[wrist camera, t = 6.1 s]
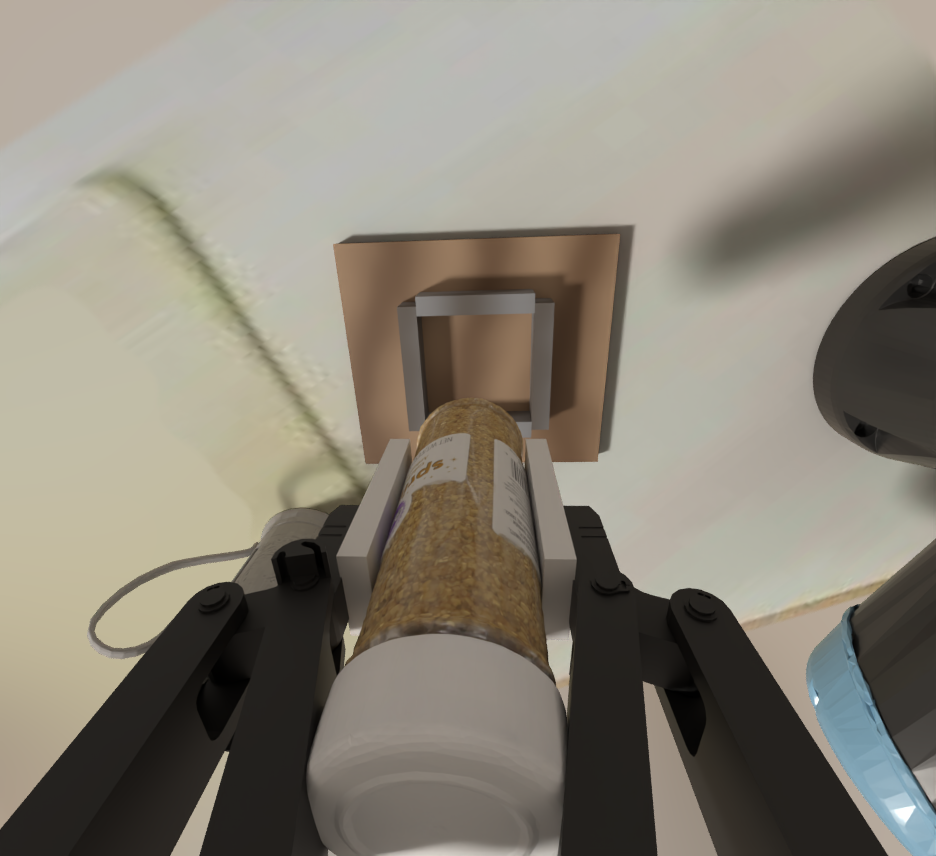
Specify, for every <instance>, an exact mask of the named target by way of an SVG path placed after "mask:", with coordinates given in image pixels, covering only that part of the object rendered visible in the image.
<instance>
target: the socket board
mask: <svg viewBox="0 0 936 856" xmlns="http://www.w3.org/2000/svg"><path fill="white" fill-rule="evenodd" d="M619 242H620V234H593V235H565V236H536V237H508V238H480V239H452V240H423V241H395V242H367V243H339V244H333V247H334V253H335V260H336V267H337V274H338V280H339V287H340V294H341V301H342V307H343V314H344V321H345V327H346V334H347V341H348V348H349V354H350V361H351V368H352V375H353V381H354V388H355V395H356V401H357V408H358V415H359V422H360V428H361V435H362V442H363V449H364V455H365V462H366V464H379V462H380V460H381V458H382V456H383V454H384V451H385V449H386V447H387V445H388V443H389V441H390V439H410V444H411V456H412V462H413V460H414V457H415V453H416V450H417V438H418V435H419V432H420V428H421V426H422V425H423V423H424V422H425V420H426V419H427V418H428V416H429V415H430V414H431V413H432V412H433V411H434V410H436V409H437V408H438V407H440V406H442V405H444V404H445V403H448V402H451V401H454V400H459V399H462V398H481V399H484V400H487V401H489V402H492V403H494V404H495V405H497V406H500V407H501V408H502V409H504V410H505V411H506V412H507V413H508V414H509V415H510V416H511V417H512V418H513V419H514V420H515V422H516V423H517V425H518V428H519V430H520V431H521V434H522V438H523V456H522V462H525V445H526V439H546V440H547V444H548V448H549V452H550V456H551V460H552V462H598V452H599V442H600V432H601V422H602V412H603V402H604V392H605V382H606V372H607V362H608V352H609V342H610V332H611V322H612V312H613V302H614V292H615V282H616V272H617V262H618V252H619Z"/></svg>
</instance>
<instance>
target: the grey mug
mask: <svg viewBox="0 0 936 856" xmlns="http://www.w3.org/2000/svg"><path fill="white" fill-rule="evenodd" d="M328 516H329V515H328V514H326V513H324V512H321V511H318V510H314V509H308V508H295V509H289V510H285V511H282V512H280V513H278V514H276V515H275V516H273V517H272V518H271V519H270V520H269V521H268V522H267V524H266V525H265V527H264V529H263V531H262V536H261V541H260V542H259V543H258V542H256V543H255V544H254V545H253V546H252V547H251V548H249V549H246V550H241V551H235V552H228V553H221V554H213V555H206V556H200V557H194V558H188V559H183V560H178V561H174V562H170V563H168V564H166V565H163V566H160V567H158V568H156V569H153V570H152V571H149V572H147V573H145V574H143V575H141V576H139V577H137V578H136V579H134V580H133V581H131V582H130V583H128V584H127V585H125V586H124V587H122V588H121V589H119V590H118V591H117V592H116V593H115V594H114V595H113V596H111V597H110V598H109V599H108V600H107V601H106V602H105V603H104V604H102V606H101V607H100V608H99V609H98V611H97V612H96V613H95V615H94V616H93V617H92V618H91V621H90V624H89V628H88V633H87V637H88V639H89V642H90V645H91V647H92V648H94V649H95V650H96V651H97V652H98V653H99V654H101V655H104V656H106V657H109V658H116V659H125V658H129V657H136V656H138V655H141V654H143V653H146V652H147V650H148V649H149V648H150V647H151V646H152V644H153V643H154V642H155V641H156V639H157V638H158V637H159V636H160V635H161V633H162V632H163V631H164V630H165V629H166V628H165V629H164V630H163V631H162V632H161V633H159V634H158V635H157V636H156V637H154V638H153V639H151V640H150V641H148V642H146V643H143V644H141V645H138V646H136V647H130V648H124V649H122V648H112V647H110V646H108V645H105V644H104V643H103V642H101V641H100V640H99V639H98V638H97V637H96V634H95V632H94V630H95V627H96V624H97V622H98V621H99V620H100V618H101V617H102V616H103V615H104V613H105V612H106V611H107V610H108V609H109V608H111V606H113V605H114V604H115V603H116V602H117V601H118V600H120V599H121V598H122V597H123V596H124V595H126V594H127V593H129V592H130V591H132V590H134V589H135V588H136V587H138V586H140V585H141V584H143V583H145V582H148V581H150V580H152V579H154V578H156V577H158V576H160V575H163V574H165V573H168V572H171V571H173V570H177V569H181V568H185V567H190V566H195V565H201V564H206V563H214V562H221V561H228V560H234V559H239V558H244V557H248V556H249V558H248V559H247V561H246V562H245V564H244V565H243V566H242V568H241V569H240V570H239V572H238V573H237V575H236V576H235V578H234V579H233V580H232V582H233V583H238V584H239V585H240V586H241V587H242V588H243V590H244V594H248V593H253V592H257V591H262V590H266V589H270V588H273V587H276V586H277V585H278V584H277V580H276V576H275V573H274V569H273V565H272V561H271V558H272V557H273V555H274V553H275V552H276V551H277V550H278V549H280V548H281V547H282V546H284V545H286V544H288V543H290V542H292V541H295V540H300V539H316V537H317V536H318V534H319V532H320V530H321V528H323V525H324V523H325V521H326V519H327V517H328ZM169 624H170V623H169ZM169 624H168V625H169ZM168 625H167V626H168ZM167 626H166V627H167ZM235 731H236V730H235ZM234 734H235V732H234ZM234 734H233V736H232V738H231V740H230V742H229V744H228V745H227V747H226V749H225V751H227V752H229V751H230V748H231V744H232V741H233V738H234Z"/></svg>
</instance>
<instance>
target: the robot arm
mask: <svg viewBox="0 0 936 856" xmlns="http://www.w3.org/2000/svg"><path fill="white" fill-rule="evenodd" d="M813 388H814V395H815V399H816V403H817V405H818V408H819V410H820V412H821V414H822V416H823V417H824V419H825V420H826V421H827V423H828V424H829V425H830V426H831V427H832V428H833V429H834V430H835V431H836V432H838V433H839V434H840V435H842V436H843V437H845V438H847V439H848V440H850V441H852V442H853V443H855V444H857V445H858V446H860V447H862V448H863V449H865V450H867V451H869V452H872V453H874V454H876V455H879V456H882V457H885V458H888V459H893V460H897V461H902V462H907V463H911V464H916V465H921V466H925V467H930V468H935V469H936V238H935V239H932V240H929V241H927V242H925V243H922V244H920V245H918V246H916V247H914V248H912V249H910V250H908V251H906V252H904V253H902V254H901V255H899V256H897V257H896V258H894V259H893V260H891V261H890V262H888V263H887V264H885V265H884V266H882V267H881V268H880V269H879V270H877V271H876V272H875V273H874V274H872V275H871V276H870V277H869V278H868V279H867V280H865V281H864V282H863V283H862V284H861V285H860V286H859V287H858V288H857V289H856V290H855V291H854V292H853V294H852V295H851V296H850V297H849V298H848V299H847V300H846V302H845V303H844V304H843V305H842V307H841V308H840V309H839V311H838V312H837V314H836V315H835V317H834V318H833V320H832V321H831V323H830V325H829V327H828V328H827V330H826V332H825V334H824V336H823V339H822V341H821V344H820V346H819V349H818V352H817V356H816V360H815V365H814V373H813ZM411 464H412V456H411V444H410V439H390V441H389V443H388V445H387V447H386V449H385V451H384V454H383V456H382V458H381V460H380V462H379V464H378V467H377V469H376V471H375V473H374V475H373V477H372V480H371V482H370V484H369V486H368V488H367V490H366V493H365V495H364V497H363V499H362V501H361V503H360V505H340V506H339V507H338V508H337V509H335V510H334V511H333V512H332V513H330V514H329V516H328V517H327V519H326V521H325V523H324V525H323V528H321V530H320V532H319V534H318V536H317V537H316V539H300V540H295V541H292V542H290V543H288V544H286V545H284V546H282V547H281V548H280V549H278V550H277V551H276V552H275V553H274V555H273V557H272V558H271V561H272V565H273V569H274V573H275V576H276V580H277V584H278V585H277V586H276V587H273V588H270V589H266V590H262V591H257V592H253V593H248V594H244V590H243V588H242V587H241V586H240V585H239V584H238V583H233V582H223V583H217V584H214V585H211V586H208V587H206V588H205V589H203V590H201V591H199V592H198V593H196V594H195V595H194V596H193V597H192V598H191V599H190V600H189V601H188V602H187V603H186V604H185V605H184V607H183V608H182V609H181V611H180V612H179V613H178V614H177V615H176V616H175V618H174V619H173V620H172V621H171V622H170V624H169V625H168V626H167V627H166V629H165V630H164V631H163V632H162V633H161V635H160V636H159V637H158V638H157V639H156V641H155V642H154V643H153V644H152V646H151V647H150V648H149V649H148V650H147V652H146V653H145V654H144V655H143V657H142V658H141V659H140V660H139V661H138V663H137V664H136V665H135V666H134V668H133V669H132V670H131V671H130V672H129V674H128V675H127V676H126V677H125V678H124V680H123V681H122V682H121V683H120V685H119V686H118V687H117V688H116V689H115V691H114V692H113V693H112V694H111V695H110V697H109V698H108V699H107V700H106V701H105V703H104V704H103V705H102V706H101V708H100V709H99V710H98V711H97V713H96V714H95V715H94V716H93V717H92V719H91V720H90V721H89V722H88V723H87V725H86V726H85V727H84V728H83V729H82V731H81V732H80V733H79V734H78V736H77V737H76V738H75V739H74V740H73V742H72V743H71V744H70V745H69V746H68V748H67V749H66V750H65V751H64V753H63V754H62V755H61V756H60V757H59V759H58V760H57V761H56V762H55V764H54V765H53V766H52V767H51V768H50V770H49V771H48V772H47V773H46V775H45V776H44V777H43V778H42V779H41V781H40V782H39V783H38V784H37V785H36V787H35V788H34V789H33V790H32V792H31V793H30V794H29V795H28V796H27V798H26V799H25V800H24V801H23V802H22V804H21V805H20V806H19V807H18V808H17V810H16V811H15V812H14V813H13V815H12V816H11V817H10V818H9V819H8V821H7V822H6V823H5V824H4V826H3V827H2V828H1V829H0V856H170V855H171V853H172V851H173V849H174V847H175V845H176V843H177V842H178V840H179V838H180V835H181V834H182V832H183V830H184V828H185V826H186V824H187V822H188V820H189V818H190V816H191V815H192V813H193V811H194V809H195V807H196V805H197V803H198V801H199V799H200V797H201V795H202V794H203V792H204V789H205V788H206V786H207V784H208V782H209V780H210V778H211V776H212V774H213V772H214V770H215V768H216V766H217V765H218V762H219V761H220V759H221V757H222V755H223V753H224V751H225V749H226V747H227V745H228V744H229V742H230V740H231V738H232V736H233V734H234V732H235V734H234V738H233V741H232V744H231V748H230V751H229V755H228V758H227V762H226V765H225V769H224V773H223V776H222V779H221V783H220V786H219V790H218V793H217V796H216V800H215V803H214V807H213V810H212V814H211V818H210V821H209V824H208V828H207V831H206V835H205V838H204V842H203V845H202V849H201V852H200V855H199V856H328V848H327V847H326V846H324V845H323V843H322V841H321V839H320V836H319V833H318V830H317V827H316V824H315V821H314V817H313V814H312V810H311V806H310V802H309V798H308V793H307V784H306V771H307V763H308V759H309V755H310V751H311V747H312V743H313V740H314V736H315V733H316V730H317V726H318V724H319V721H320V718H321V715H322V712H323V710H324V707H325V704H326V701H327V698H328V695H329V693H330V690H331V687H332V685H333V683H334V681H335V679H336V677H337V676H338V674H339V673H340V672H341V670H342V669H343V668H344V659H345V644H344V639H343V634H344V631H345V629H346V626H347V623H349V628H350V633H351V635H359V634H360V631H361V629H362V625H363V621H364V619H365V617H366V612H367V608H368V605H369V601H370V598H371V594H372V592H373V589H374V586H375V583H376V580H377V576H378V573H379V570H380V561H381V557H382V553H383V550H384V547H385V544H386V541H387V538H388V535H389V532H390V529H391V526H392V523H393V519H394V516H395V513H396V509H397V507H398V503H399V500H400V496H401V493H402V489H403V486H404V483H405V480H406V477H407V473H408V471H409V468H410V466H411ZM525 472H526V476H527V482H528V489H529V496H530V503H531V510H532V518H533V526H534V533H535V540H536V547H537V554H538V560H539V567H540V574H541V582H542V594H541V601H542V610H543V614H544V626H545V633H546V639H547V640H569V632H570V630H571V635H572V640H573V644H572V653H571V663H570V672H569V675H570V680H569V695H568V708H567V723H568V746H567V765H566V781H565V794H564V804H563V813H562V822H561V831H560V839H559V847H558V855H557V856H657V844H656V832H655V821H654V809H653V797H652V786H651V774H650V762H649V750H648V739H647V727H646V715H645V704H644V694H643V693H644V692H643V681H644V682H647V683H650V684H653V685H654V686H655V688H656V691H657V694H658V697H659V699H660V702H661V705H662V707H663V710H664V713H665V715H666V718H667V721H668V723H669V726H670V729H671V732H672V734H673V737H674V740H675V742H676V745H677V747H678V750H679V753H680V756H681V758H682V761H683V763H684V766H685V769H686V772H687V774H688V777H689V780H690V782H691V785H692V788H693V791H694V793H695V796H696V798H697V801H698V804H699V806H700V809H701V812H702V815H703V817H704V820H705V822H706V825H707V828H708V831H709V833H710V836H711V839H712V841H713V844H714V847H715V849H716V852H717V855H718V856H888V855H887V853H886V852H885V850H884V848H883V847H882V845H881V844H880V842H879V841H878V839H877V838H876V836H875V835H874V833H873V831H872V830H871V828H870V827H869V825H868V824H867V822H866V820H865V819H864V817H863V816H862V814H861V813H860V811H859V810H858V808H857V806H856V805H855V803H854V802H853V800H852V799H851V797H850V796H849V794H848V792H847V791H846V789H845V788H844V786H843V785H842V783H841V781H840V780H839V778H838V777H837V775H836V774H835V772H834V771H833V769H832V767H831V766H830V764H829V763H828V761H827V760H826V758H825V757H824V755H823V753H822V752H821V750H820V749H819V747H818V746H817V744H816V743H815V741H814V739H813V738H812V736H811V735H810V733H809V732H808V730H807V729H806V727H805V725H804V724H803V722H802V721H801V719H800V718H799V716H798V714H797V713H796V712H795V710H794V708H793V707H792V705H791V704H790V702H789V700H788V699H787V697H786V696H785V694H784V693H783V691H782V690H781V688H780V686H779V685H778V684H777V682H776V680H775V679H774V677H773V676H772V674H771V672H770V671H769V669H768V668H767V666H766V665H765V663H764V662H763V660H762V658H761V657H760V655H759V654H758V652H757V651H756V649H755V648H754V646H753V645H752V643H751V641H750V640H749V638H748V637H747V635H746V633H745V632H744V630H743V629H742V627H741V626H740V624H739V623H738V621H737V619H736V618H735V616H734V615H733V613H732V612H731V610H730V609H729V608H728V607H727V605H726V604H725V603H724V602H723V601H722V600H720V599H719V598H717V597H716V596H714V595H713V594H710V593H708V592H705V591H702V590H699V589H692V588H686V589H680V590H678V591H676V592H675V593H673V594H672V596H671V599H670V600H669V599H665V598H661V597H657V596H653V595H650V594H647V593H644V592H642V591H640V590H638V589H636V588H634V587H633V584H632V582H631V581H630V580H629V579H628V578H627V577H626V576H625V575H624V574H622V573H620V571H619V568H618V565H617V563H616V560H615V557H614V555H613V552H612V549H611V546H610V544H609V541H608V538H607V536H606V533H605V530H604V529H603V525H602V522H601V519H600V517H599V515H598V514H597V513H596V512H595V511H594V510H593V509H592V508H591V507H589V506H563V503H562V499H561V495H560V492H559V488H558V484H557V480H556V476H555V472H554V468H553V464H552V460H551V456H550V452H549V448H548V444H547V440H546V439H526V445H525ZM806 681H807V687H808V691H809V697H810V699H811V702H812V704H813V706H814V708H815V711H816V716H817V720H818V722H819V724H820V726H821V729H822V731H823V733H824V735H825V736H826V738H827V740H828V742H829V744H830V746H831V748H832V750H833V751H834V753H835V755H836V757H837V758H838V760H839V761H840V763H841V765H842V766H843V768H844V769H845V771H846V772H847V774H848V776H849V777H850V779H851V780H852V781H853V783H854V784H855V786H856V787H857V788H858V790H859V791H860V793H861V794H862V795H863V797H864V798H865V799H866V801H867V802H868V803H869V805H870V806H871V807H872V809H873V810H874V811H875V813H876V814H877V815H878V817H879V818H880V819H881V820H882V822H883V823H884V824H885V825H886V826H887V827H888V829H889V830H890V831H891V832H892V833H893V834H894V835H895V837H896V838H897V839H898V840H899V842H900V843H901V844H902V845H903V846H904V847H905V848H906V849H907V850H908V851H909V852H910V853H911V854H912V856H936V539H935V540H934V541H932V542H931V543H930V544H929V545H928V546H927V547H926V548H924V549H923V550H922V551H921V552H920V553H919V554H918V555H916V556H915V557H914V558H913V559H912V560H911V561H909V562H908V563H907V564H906V565H905V566H904V567H903V568H901V569H900V570H899V571H898V572H897V573H896V574H895V575H893V576H892V577H891V578H890V579H889V580H888V581H887V582H885V583H884V584H883V585H882V586H881V587H880V588H879V589H877V590H876V591H875V592H874V593H873V594H872V595H871V596H869V597H868V598H867V599H866V600H865V601H864V602H862V603H861V604H858V605H855V606H853V607H849V608H848V609H847V610H846V611H845V613H844V614H843V617H842V620H841V622H840V623H839V624H838V625H837V626H836V627H835V628H834V629H833V630H832V631H831V632H830V633H829V634H828V635H827V636H826V637H825V638H824V639H823V640H822V641H821V642H820V643H819V644H818V645H817V646H816V647H815V648H814V650H813V652H812V653H811V655H810V657H809V660H808V663H807V669H806ZM235 730H236V731H235Z"/></svg>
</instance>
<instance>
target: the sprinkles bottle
mask: <svg viewBox="0 0 936 856" xmlns="http://www.w3.org/2000/svg"><path fill="white" fill-rule="evenodd" d="M522 456H523V438H522V434H521V431H520V430H519V428H518V425H517V423H516V422H515V420H514V419H513V418H512V417H511V416H510V415H509V414H508V413H507V412H506V411H505V410H504V409H502V408H501V407H500V406H497V405H495V404H494V403H492V402H489V401H487V400H484V399H481V398H462V399H459V400H454V401H451V402H448V403H445V404H444V405H442V406H440V407H438V408H437V409H436V410H434V411H433V412H432V413H431V414H430V415H429V416H428V418H427V419H426V420H425V422H424V423H423V425H422V426H421V428H420V432H419V435H418V438H417V450H416V453H415V457H414V460H413V462H412V464H411V466H410V468H409V471H408V473H407V477H406V480H405V483H404V486H403V489H402V493H401V496H400V500H399V503H398V507H397V509H396V513H395V516H394V519H393V523H392V526H391V529H390V532H389V535H388V538H387V541H386V544H385V547H384V550H383V553H382V557H381V561H380V570H379V573H378V576H377V580H376V583H375V586H374V589H373V592H372V594H371V598H370V601H369V605H368V608H367V612H366V617H365V619H364V621H363V625H362V629H361V631H360V634H359V637H358V640H357V642H356V645H355V647H354V652H353V655H352V656H351V658H349V659H348V660H347V662H346V664H345V666H344V668H343V669H342V670H341V672H340V673H339V674H338V676H337V677H336V679H335V681H334V683H333V685H332V687H331V690H330V693H329V695H328V698H327V701H326V704H325V707H324V710H323V712H322V715H321V718H320V721H319V724H318V726H317V730H316V733H315V736H314V740H313V743H312V747H311V751H310V755H309V759H308V763H307V771H306V784H307V793H308V798H309V802H310V806H311V810H312V814H313V817H314V821H315V824H316V827H317V830H318V833H319V836H320V839H321V841H322V843H323V845H324V846H326V847H327V848H328V849H329V850H330V851H331V852H333V853H334V854H336V855H337V856H557V855H558V847H559V839H560V831H561V822H562V813H563V804H564V794H565V781H566V765H567V746H568V723H567V716H566V710H565V707H564V704H563V701H562V698H561V695H560V693H559V691H558V689H557V688H556V682H555V678H554V675H553V672H552V670H551V668H550V666H549V662H548V650H547V644H546V640H547V639H546V633H545V626H544V614H543V610H542V601H541V594H542V582H541V574H540V567H539V560H538V554H537V547H536V540H535V533H534V526H533V518H532V510H531V503H530V496H529V489H528V482H527V476H526V472H525V469H524V467H523V463H522Z"/></svg>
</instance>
